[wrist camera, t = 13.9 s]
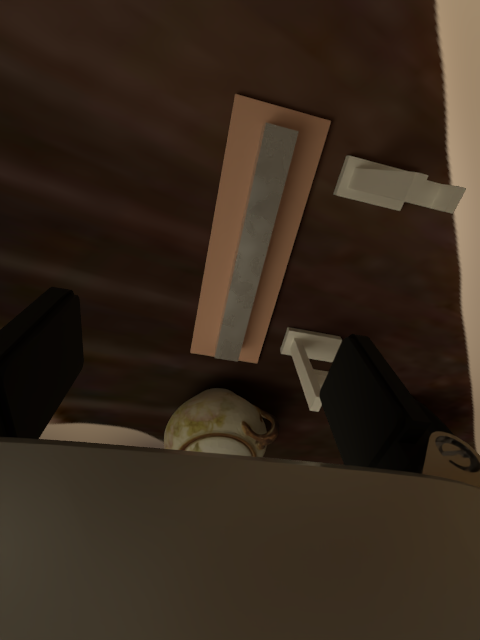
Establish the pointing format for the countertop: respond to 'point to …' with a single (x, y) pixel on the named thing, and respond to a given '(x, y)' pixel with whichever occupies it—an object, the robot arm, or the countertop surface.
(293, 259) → the countertop surface
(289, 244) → the terracotta mat
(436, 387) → the countertop surface
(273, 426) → the sugar bowl
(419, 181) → the shelf brackets
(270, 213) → the steel rail
